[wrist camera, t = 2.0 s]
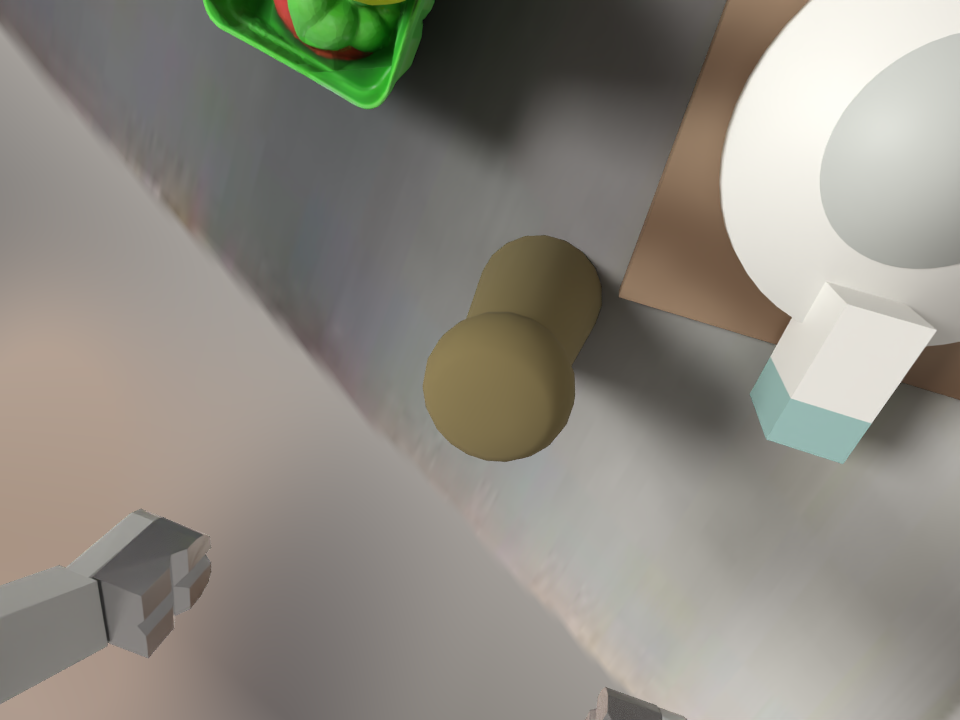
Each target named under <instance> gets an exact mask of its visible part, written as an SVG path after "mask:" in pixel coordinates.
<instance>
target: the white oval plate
mask: <svg viewBox="0 0 960 720" xmlns="http://www.w3.org/2000/svg"><path fill="white" fill-rule="evenodd" d="M719 191H720V206H721V210H722V215H723V220H724V225H725V228H726V231H727V234H728V237H729V239H730V242H731V245H732V247H733V249H734V251H735V253H736V254H737V256H738V258H739V260H740V262H741V264H742V265H743V267H744V269H745V271H746V272H747V274H748V275H749V277H750V278H751V279H752V281H753V282H754V283H755V284H756V286H757V287H758V288H759V290H760V291H761V292H762V293H763V294H764V295H765V296H766V297H767V298H768V299H769V300H770V301H772V302H773V303H774V304H775V305H776V306H777V307H778V308H780V309H781V310H782V311H784V312H785V313H787V314H788V315H789V316H791V317H792V318H791V320H790V322H789V324H788V326H787V327H786V329H785V331H784V333H783V335H782V337H781V338H780V340H779V342H778V344H777V346H776V347H775V349H774V351H773V353H772V355H771V357H770V358H769V360H768V362H767V364H766V366H765V367H764V369H763V371H762V373H761V375H760V376H759V378H758V380H757V382H756V384H755V386H754V387H753V389H752V391H751V393H750V396H751V399H752V401H753V404H754V407H755V410H756V413H757V415H758V418H759V421H760V424H761V426H762V429H763V432H764V435H765V437H766V439H767V440H770V441H773V442H776V443H779V444H782V445H785V446H788V447H792V448H795V449H798V450H801V451H804V452H807V453H810V454H813V455H816V456H820V457H823V458H826V459H829V460H832V461H835V462H838V463H841V464H843V463H844V462H845V461H846V459H847V458H848V456H849V455H850V454H851V452H852V451H853V449H854V448H855V446H856V445H857V444H858V442H859V441H860V439H861V438H862V436H863V435H864V434H865V432H866V431H867V429H868V428H869V426H870V425H871V424H872V422H873V421H874V419H875V418H876V416H877V415H878V414H879V412H880V411H881V409H882V408H883V406H884V405H885V404H886V402H887V401H888V399H889V398H890V396H891V395H892V394H893V392H894V391H895V389H896V388H897V387H898V385H899V384H900V382H901V381H902V379H903V378H904V377H905V375H906V374H907V372H908V371H909V369H910V368H911V367H912V365H913V364H914V362H915V361H916V359H917V358H918V357H919V355H920V354H921V352H922V351H923V349H924V348H925V347H926V346H934V345H945V344H950V343H955V342H960V0H809V1H808V2H807V3H806V4H805V5H804V6H803V7H802V8H801V9H800V10H799V11H798V12H797V13H796V14H795V15H794V16H793V17H792V19H791V20H790V21H789V22H788V23H787V24H786V25H785V26H784V27H783V28H782V30H781V31H780V32H779V34H778V35H777V36H776V37H775V39H774V40H773V41H772V43H771V44H770V45H769V46H768V48H767V49H766V50H765V52H764V53H763V55H762V56H761V58H760V60H759V61H758V63H757V64H756V66H755V68H754V69H753V71H752V72H751V74H750V76H749V77H748V79H747V81H746V83H745V85H744V87H743V89H742V92H741V94H740V96H739V98H738V100H737V102H736V104H735V107H734V110H733V113H732V116H731V118H730V121H729V124H728V127H727V130H726V134H725V139H724V144H723V149H722V153H721V161H720V173H719Z"/></svg>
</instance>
